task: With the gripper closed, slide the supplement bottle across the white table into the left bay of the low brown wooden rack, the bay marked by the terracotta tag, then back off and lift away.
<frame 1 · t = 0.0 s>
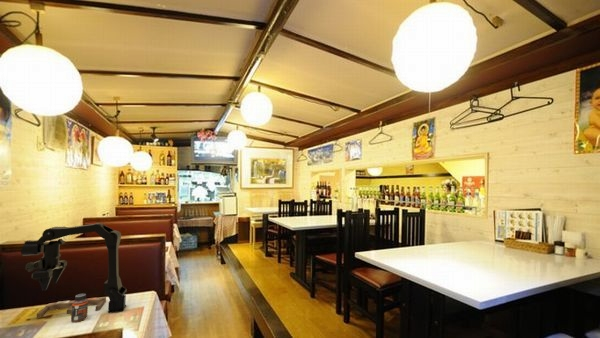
hand: (49, 286, 130), 15 cm above the table, fingers open, 9 cm apart
supplement bottle: (79, 320, 129), on the table
brown wooden rack: (72, 310, 138), on the table
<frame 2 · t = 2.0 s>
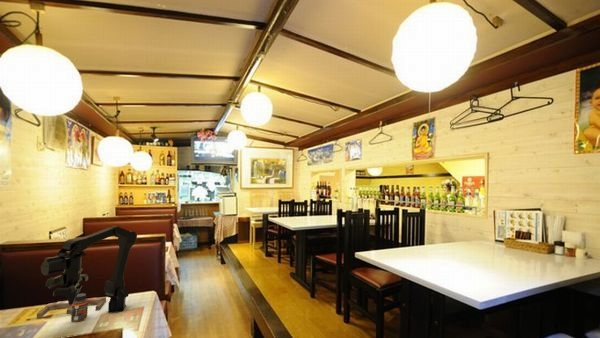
hand: (71, 304, 120), 11 cm above the table, fingers closed
nothing on the table moved.
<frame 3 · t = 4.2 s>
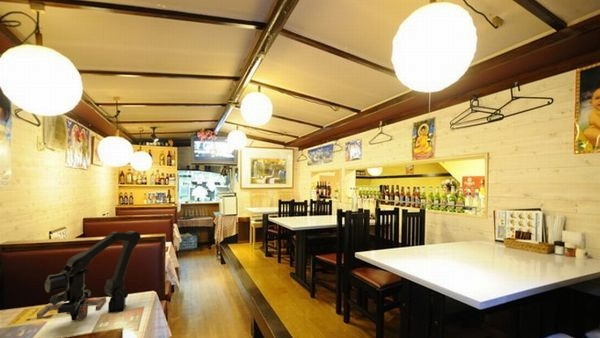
hand: (74, 319, 124), 2 cm above the table, fingers closed, pressing on supplement bottle
supplement bottle: (79, 319, 129), on the table, touching gripper
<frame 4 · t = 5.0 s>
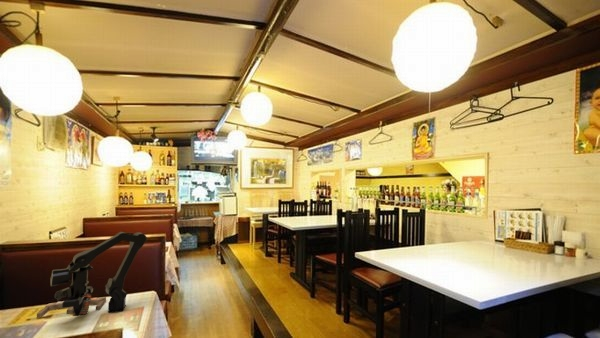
hand: (77, 315, 127), 3 cm above the table, fingers closed
supplement bottle: (79, 315, 130), point 1 cm above the table, touching gripper
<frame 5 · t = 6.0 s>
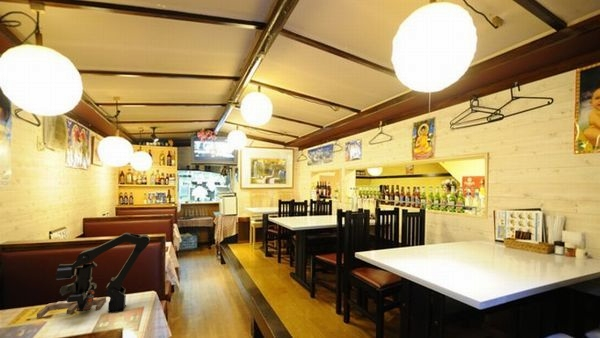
hand: (81, 310, 132), 3 cm above the table, fingers closed, pressing on supplement bottle
supplement bottle: (83, 311, 134), point 1 cm above the table, touching gripper
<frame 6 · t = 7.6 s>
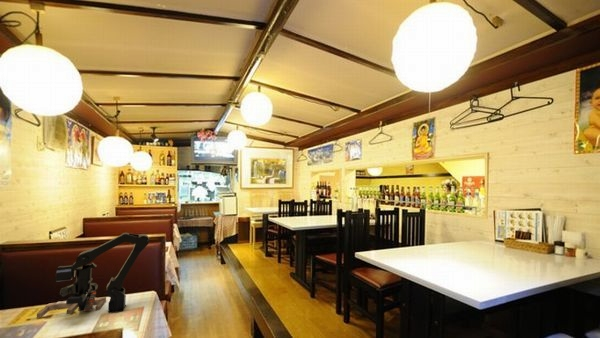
hand: (82, 310, 132), 3 cm above the table, fingers closed
supplement bottle: (85, 311, 136), point 1 cm above the table, touching gripper
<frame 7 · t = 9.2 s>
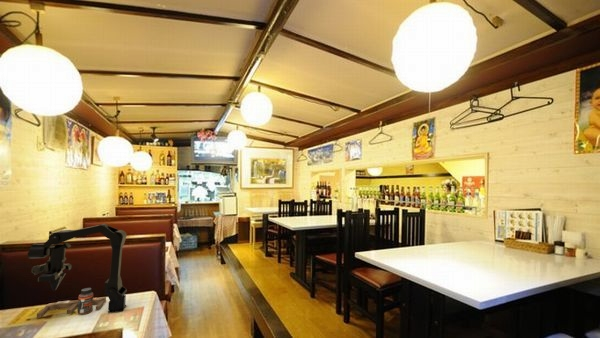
hand: (54, 290, 131), 13 cm above the table, fingers closed
supplement bottle: (85, 312, 136), on the table
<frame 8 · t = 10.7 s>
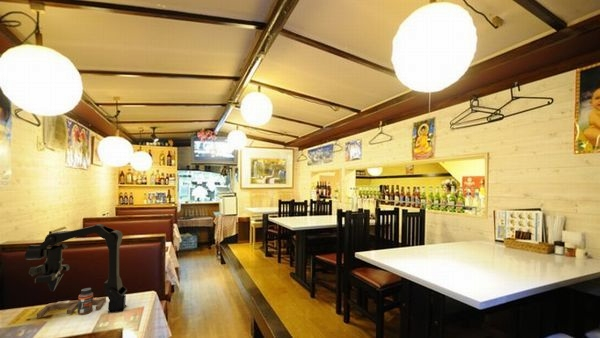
hand: (52, 290, 132), 12 cm above the table, fingers closed
nothing on the table moved.
at the end: supplement bottle inside the target area on the brown wooden rack (4.0 cm from its centre), point 0.0 cm above the brown wooden rack's base; supplement bottle tilted 0° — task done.
